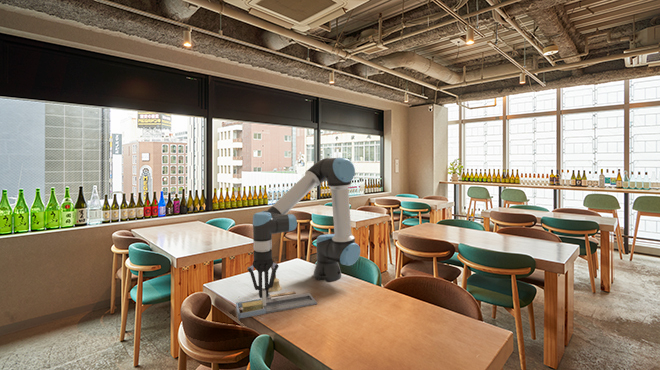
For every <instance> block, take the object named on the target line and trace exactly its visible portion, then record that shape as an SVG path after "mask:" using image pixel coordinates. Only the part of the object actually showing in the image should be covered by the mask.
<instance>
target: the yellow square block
mask: <svg viewBox="0 0 660 370" xmlns="http://www.w3.org/2000/svg"><path fill="white" fill-rule="evenodd" d="M252 304H253V311H255V310H260V309H264V307H263V303H262V299H261V300H259V301H253V302H252Z"/></svg>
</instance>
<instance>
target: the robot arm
mask: <svg viewBox="0 0 660 370" xmlns="http://www.w3.org/2000/svg"><path fill="white" fill-rule="evenodd" d="M355 175H356V168H355V165H354V163H353V162H352V161H351V160H350V159H349V158H346V157H331V158H330V157H329V158H328V157H327V158H322V159H319V160H318V161H317V162H316V163H314V164H312V166H310V167H309V168H308V169H307V170H306V171H305V173H304V175H303V177H301V179H300V180H298V181H297V182H296V183H295V184H294V185H293V186H291V188H290V189H288V190H287V191H286V192H285V193H284V194H283V195H282V196H281V197H280V198H279V199H278V200H277V201H276V202H275V203H273V205H271V206H270V207H269V208H268V209H267V210H262V211H260V212H255V213H254V214H253V216H252V232H253V233H252V235H253V239H252V241H253V260H252V261H253V262H252V265H250V266H247V271H248V273H249V274H250V277H251V280H252V281H251V282H252V285H253V287H254V289H255V291H258V297H259V299H261V300H262V303H263V306H266V300H267V297H268V296H269V295H268V294H269V291H268V290H269V288H272V287H273V283H274V279H275V274H276V273H277V270H278V268H279V267H280V266H279V265H278V263H277V262H276V263H274V262H273V260H272V259H273V250H272V248H273V245H272V244H273V243H272V240H273V239H272V238H273V237H272V235H275V234H282V233H289V232H292V231H295V230H296V228H297V226H298V221H297V217H296V215H294V214H293V213H289V212H290V211H291V210H292V209H293V208H294V207H295V206H296V205H297V204H299V202H300V201H302V199H303V198H304V197H306V195H307V194H309V193H310V192H311V191H312V190H313V189H314V188H315V187H318V186H320V185H321V183H323V182H327V187H329V189H330V191H331V192H330V193H331V204H332V218H333V219H332V221H333V231H334V233H327V234H320V235H318V236H317V237H316V264H315V267H314V270H313V278H314V279H315V280H317V281H325V282H335V281H338V280H339V279H341V278H342V271H341V270H342V269H341V267H340V264H341V265H342V266H343V265H344V266H353V265H354V264H356V263H357V261H358V260H359V259H360V255H361V248H360V245H359V244H358V243H356V238H355V236H354V235H353V234H352V222H351V210H350V209H351V207H350V194H349V193H350V192H349V187H350V186H351V185H352V180H353V179H354V177H355ZM271 266H272V269H271ZM270 269H271V272H270V277H269V271H270ZM255 270H256V271H257V275H258V276H257V277H258V284H257V281H256V276H255V273H254V271H255ZM263 273H264V274H263ZM263 275H264V276H263ZM263 277H264V288H263ZM269 278H270V279H269Z"/></svg>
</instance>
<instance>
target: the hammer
mask: <svg viewBox="0 0 660 370" xmlns="http://www.w3.org/2000/svg"><path fill="white" fill-rule="evenodd" d="M268 295H269V296H268V297H266V300H269V299H272V298H278V297H285V296H292V295H297V294H296V291H288V292H283V293H282V292H281V293H276V294H270V293H268Z"/></svg>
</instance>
